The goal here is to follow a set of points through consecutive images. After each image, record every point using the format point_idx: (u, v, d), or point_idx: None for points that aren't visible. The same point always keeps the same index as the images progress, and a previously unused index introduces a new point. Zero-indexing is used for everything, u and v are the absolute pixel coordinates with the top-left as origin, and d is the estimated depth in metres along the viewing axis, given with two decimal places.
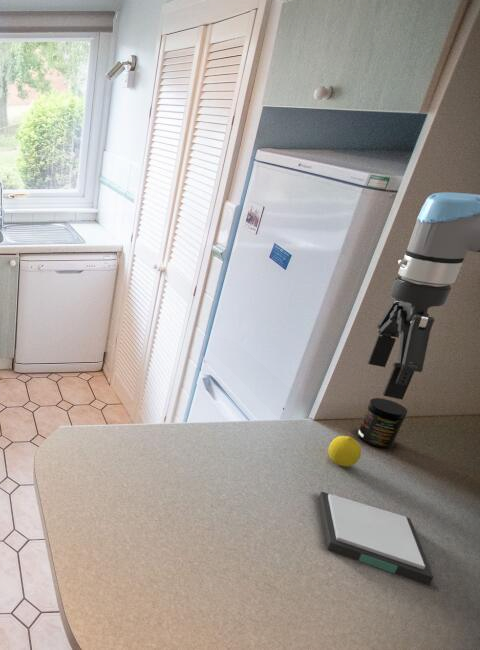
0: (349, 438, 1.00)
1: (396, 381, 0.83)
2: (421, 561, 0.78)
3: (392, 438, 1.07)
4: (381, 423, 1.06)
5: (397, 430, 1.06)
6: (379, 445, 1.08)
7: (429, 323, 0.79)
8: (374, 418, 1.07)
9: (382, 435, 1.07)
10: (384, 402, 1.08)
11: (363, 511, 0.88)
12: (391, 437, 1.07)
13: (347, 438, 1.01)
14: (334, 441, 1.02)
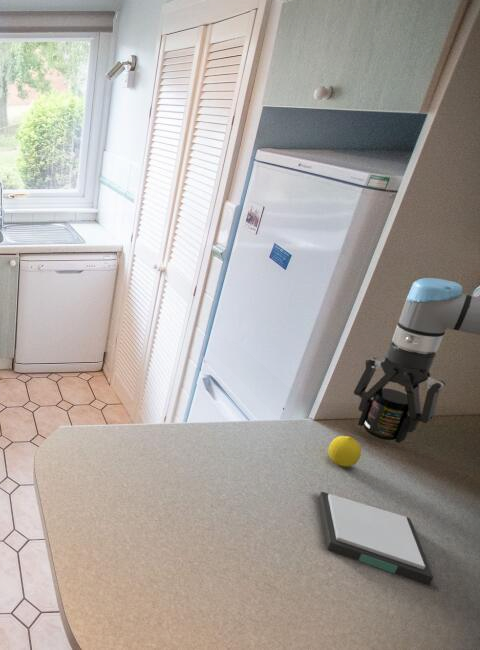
0: (349, 438, 1.00)
1: (410, 430, 1.04)
2: (421, 561, 0.78)
3: (399, 428, 1.05)
4: (388, 413, 1.05)
5: None
6: (386, 436, 1.06)
7: (442, 387, 0.98)
8: (380, 408, 1.06)
9: (388, 425, 1.05)
10: (390, 392, 1.07)
11: (363, 511, 0.88)
12: (398, 427, 1.05)
13: (347, 438, 1.01)
14: (334, 441, 1.02)
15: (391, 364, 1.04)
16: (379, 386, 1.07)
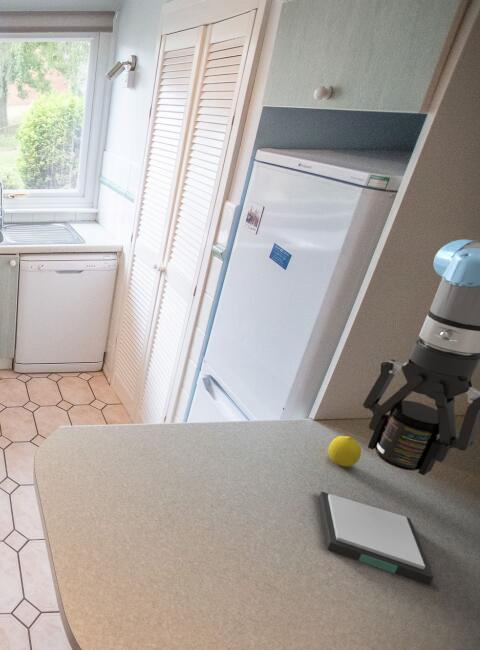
0: (349, 438, 1.00)
1: (439, 459, 0.76)
2: (421, 561, 0.78)
3: (425, 456, 0.77)
4: (410, 434, 0.77)
5: None
6: (406, 465, 0.79)
7: None
8: (399, 428, 0.78)
9: (410, 451, 0.78)
10: (413, 406, 0.79)
11: (363, 511, 0.88)
12: (423, 454, 0.77)
13: (347, 438, 1.01)
14: (334, 441, 1.02)
15: (417, 368, 0.76)
16: (398, 398, 0.79)
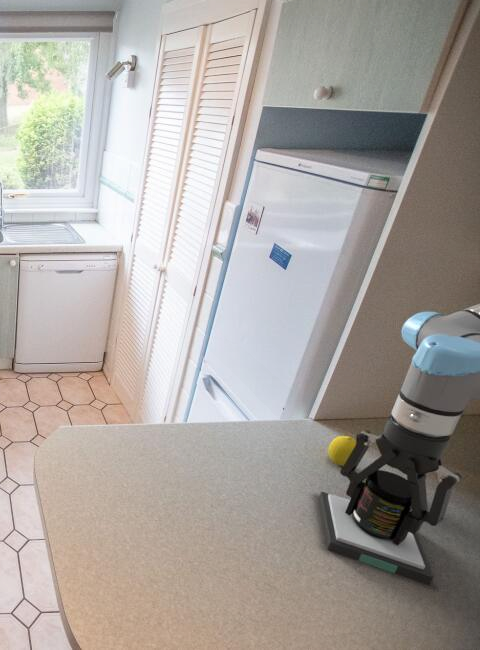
0: (349, 438, 1.00)
1: (412, 531, 0.79)
2: (421, 561, 0.78)
3: (398, 527, 0.80)
4: (384, 506, 0.80)
5: None
6: (381, 535, 0.81)
7: None
8: (374, 499, 0.81)
9: (384, 522, 0.80)
10: (387, 477, 0.82)
11: None
12: (397, 525, 0.80)
13: (347, 438, 1.01)
14: (334, 441, 1.02)
15: (390, 443, 0.79)
16: (373, 469, 0.82)
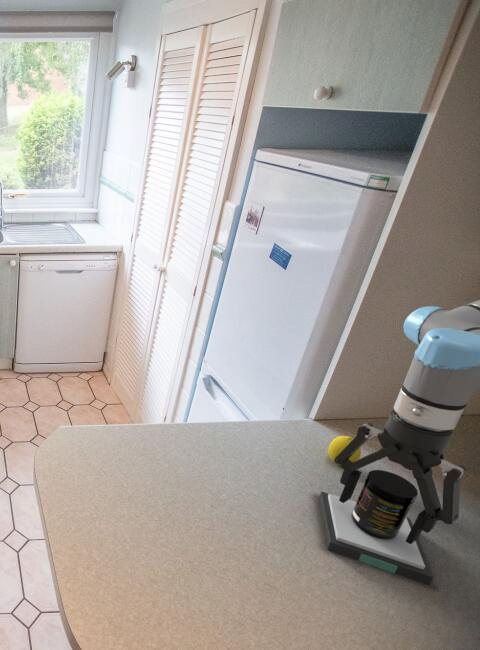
0: (349, 438, 1.00)
1: (426, 530, 0.77)
2: (421, 561, 0.78)
3: (397, 526, 0.80)
4: (383, 506, 0.80)
5: (404, 516, 0.79)
6: (380, 534, 0.81)
7: (463, 474, 0.72)
8: (373, 499, 0.81)
9: (383, 522, 0.80)
10: (387, 477, 0.82)
11: None
12: (396, 525, 0.80)
13: (347, 438, 1.01)
14: (334, 441, 1.02)
15: (392, 439, 0.78)
16: (370, 460, 0.82)
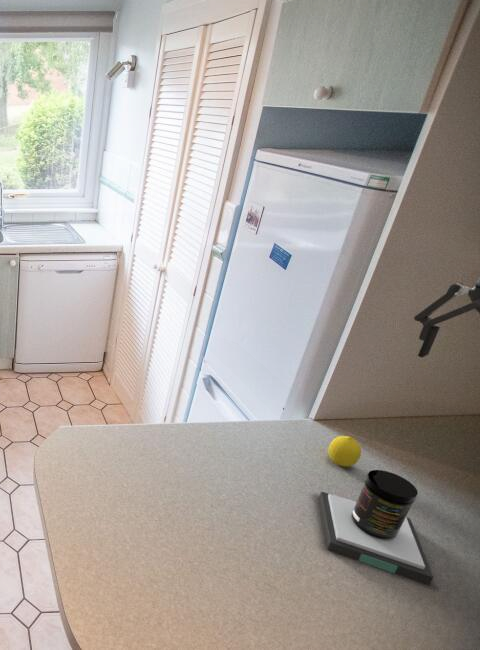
0: (349, 438, 1.00)
1: None
2: (421, 561, 0.78)
3: (397, 526, 0.80)
4: (383, 506, 0.80)
5: (404, 516, 0.79)
6: (380, 534, 0.81)
7: None
8: (373, 499, 0.81)
9: (383, 522, 0.80)
10: (386, 477, 0.82)
11: None
12: (396, 525, 0.80)
13: (347, 438, 1.01)
14: (334, 441, 1.02)
15: None
16: (455, 314, 0.90)
